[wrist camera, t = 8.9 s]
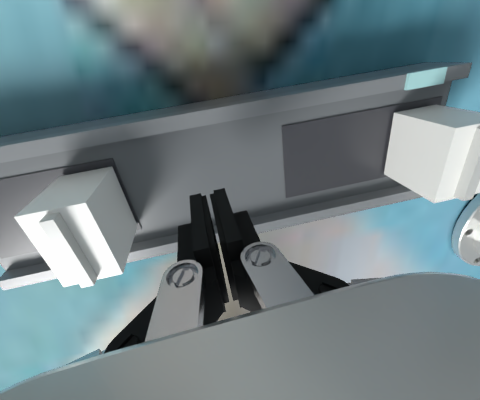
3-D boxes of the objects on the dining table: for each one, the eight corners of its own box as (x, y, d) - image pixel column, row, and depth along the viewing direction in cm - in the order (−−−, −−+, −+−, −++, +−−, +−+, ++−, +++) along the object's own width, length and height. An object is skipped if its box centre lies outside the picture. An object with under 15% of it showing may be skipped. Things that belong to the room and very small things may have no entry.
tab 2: (436, 104, 17) (523, 120, 12) (421, 166, 19) (490, 197, 14) (394, 112, 16) (467, 131, 12) (383, 174, 19) (443, 208, 14)
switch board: (425, 61, 18) (475, 61, 15) (402, 176, 22) (436, 195, 19) (-52, 144, 15) (-114, 166, 12) (31, 256, 20) (2, 292, 17)
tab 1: (112, 166, 15) (80, 209, 11) (137, 226, 17) (120, 282, 13) (59, 176, 15) (4, 225, 10) (92, 236, 17) (58, 296, 12)
